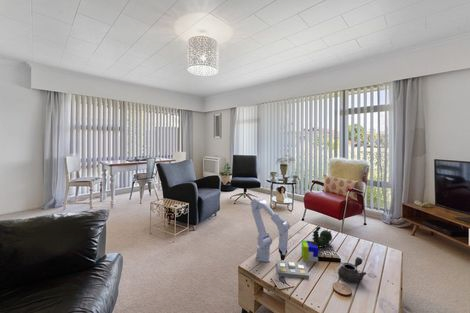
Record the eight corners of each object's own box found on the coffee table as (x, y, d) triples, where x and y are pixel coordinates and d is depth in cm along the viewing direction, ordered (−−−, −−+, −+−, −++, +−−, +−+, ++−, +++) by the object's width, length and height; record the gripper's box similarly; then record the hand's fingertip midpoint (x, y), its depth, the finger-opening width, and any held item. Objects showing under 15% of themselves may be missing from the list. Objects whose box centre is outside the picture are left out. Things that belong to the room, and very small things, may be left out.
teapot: (362, 290, 119) (363, 273, 118) (334, 277, 130) (335, 262, 130) (371, 276, 132) (372, 261, 131) (345, 265, 143) (346, 251, 142)
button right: (298, 270, 136) (298, 267, 136) (297, 267, 139) (297, 264, 139) (304, 270, 135) (304, 268, 135) (303, 267, 139) (303, 265, 139)
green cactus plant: (320, 254, 161) (336, 242, 176) (320, 231, 159) (336, 221, 174) (309, 249, 168) (325, 238, 184) (309, 227, 166) (325, 217, 181)
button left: (279, 268, 138) (280, 266, 137) (279, 265, 141) (279, 262, 141) (285, 269, 137) (285, 266, 137) (284, 265, 141) (285, 263, 141)
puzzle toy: (317, 261, 148) (318, 248, 147) (303, 259, 150) (303, 246, 149) (315, 254, 157) (315, 241, 157) (301, 252, 159) (302, 240, 159)
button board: (277, 275, 131) (277, 272, 131) (276, 262, 145) (276, 259, 145) (309, 278, 128) (309, 275, 128) (304, 265, 142) (304, 262, 142)
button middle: (289, 267, 137) (289, 265, 137) (288, 264, 140) (288, 262, 140) (294, 268, 136) (294, 265, 136) (294, 265, 140) (294, 262, 140)
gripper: (290, 245, 130) (289, 266, 131) (288, 235, 145) (287, 254, 145) (279, 244, 131) (278, 265, 132) (277, 234, 146) (277, 253, 146)
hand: (282, 259), depth 139 cm, fingers closed
